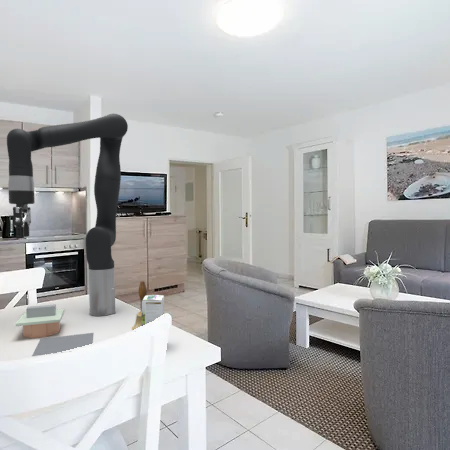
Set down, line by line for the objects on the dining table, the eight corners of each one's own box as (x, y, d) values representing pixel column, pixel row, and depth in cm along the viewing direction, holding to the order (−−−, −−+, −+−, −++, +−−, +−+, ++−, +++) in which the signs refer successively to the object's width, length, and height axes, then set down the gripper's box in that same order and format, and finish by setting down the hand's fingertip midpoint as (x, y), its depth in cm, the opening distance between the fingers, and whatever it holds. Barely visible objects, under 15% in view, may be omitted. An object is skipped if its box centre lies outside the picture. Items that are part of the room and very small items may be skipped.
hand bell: (132, 335, 107) (131, 285, 107) (129, 327, 115) (128, 280, 114) (158, 331, 111) (158, 282, 110) (154, 323, 118) (153, 278, 118)
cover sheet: (64, 311, 117) (64, 300, 116) (60, 321, 105) (59, 309, 105) (24, 314, 113) (24, 303, 112) (15, 326, 101) (15, 313, 101)
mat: (93, 334, 108) (93, 332, 108) (92, 350, 96) (92, 348, 96) (40, 340, 103) (40, 338, 103) (31, 358, 91) (31, 356, 91)
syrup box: (144, 343, 101) (143, 294, 100) (164, 342, 101) (164, 294, 101) (141, 351, 95) (140, 300, 94) (162, 350, 95) (162, 299, 95)
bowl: (61, 326, 116) (61, 312, 115) (57, 337, 106) (57, 321, 106) (27, 330, 112) (27, 315, 112) (20, 341, 103) (20, 324, 103)
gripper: (29, 188, 111) (31, 238, 111) (37, 191, 124) (39, 235, 125) (2, 188, 108) (4, 239, 109) (14, 190, 122) (15, 236, 122)
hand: (23, 237), depth 117 cm, fingers open, 8 cm apart
